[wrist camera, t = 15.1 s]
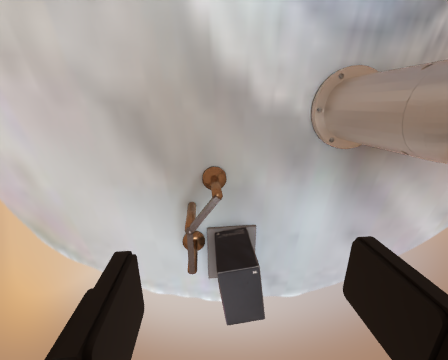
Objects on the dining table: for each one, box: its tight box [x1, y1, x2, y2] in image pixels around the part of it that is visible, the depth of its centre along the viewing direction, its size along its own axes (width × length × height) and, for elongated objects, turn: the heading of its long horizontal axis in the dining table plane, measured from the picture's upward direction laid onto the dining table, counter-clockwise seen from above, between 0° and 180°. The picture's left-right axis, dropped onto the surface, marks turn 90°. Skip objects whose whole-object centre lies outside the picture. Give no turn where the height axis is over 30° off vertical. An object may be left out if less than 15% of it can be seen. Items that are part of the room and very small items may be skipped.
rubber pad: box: [207, 225, 256, 278], centre depth 43 cm, size 9×11×1 cm
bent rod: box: [183, 167, 226, 274], centre depth 35 cm, size 5×17×9 cm, turn 162°
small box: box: [215, 227, 265, 325], centre depth 37 cm, size 11×6×10 cm, turn 8°
